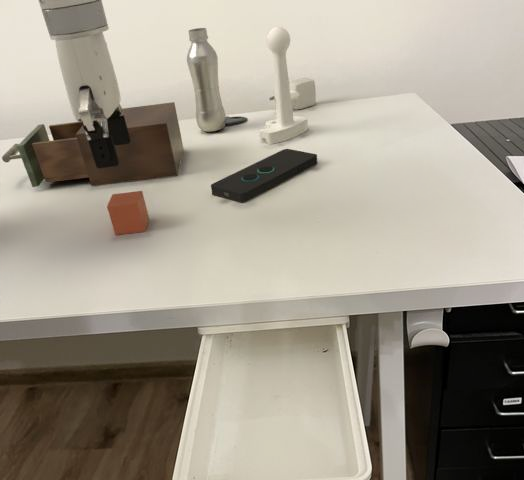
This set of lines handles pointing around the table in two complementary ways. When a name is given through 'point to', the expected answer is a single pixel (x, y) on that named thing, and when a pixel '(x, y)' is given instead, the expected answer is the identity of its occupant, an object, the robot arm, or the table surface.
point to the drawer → (50, 154)
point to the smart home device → (263, 175)
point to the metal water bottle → (205, 81)
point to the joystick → (282, 94)
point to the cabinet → (140, 147)
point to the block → (128, 212)
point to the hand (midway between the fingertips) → (114, 154)
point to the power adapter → (301, 93)
